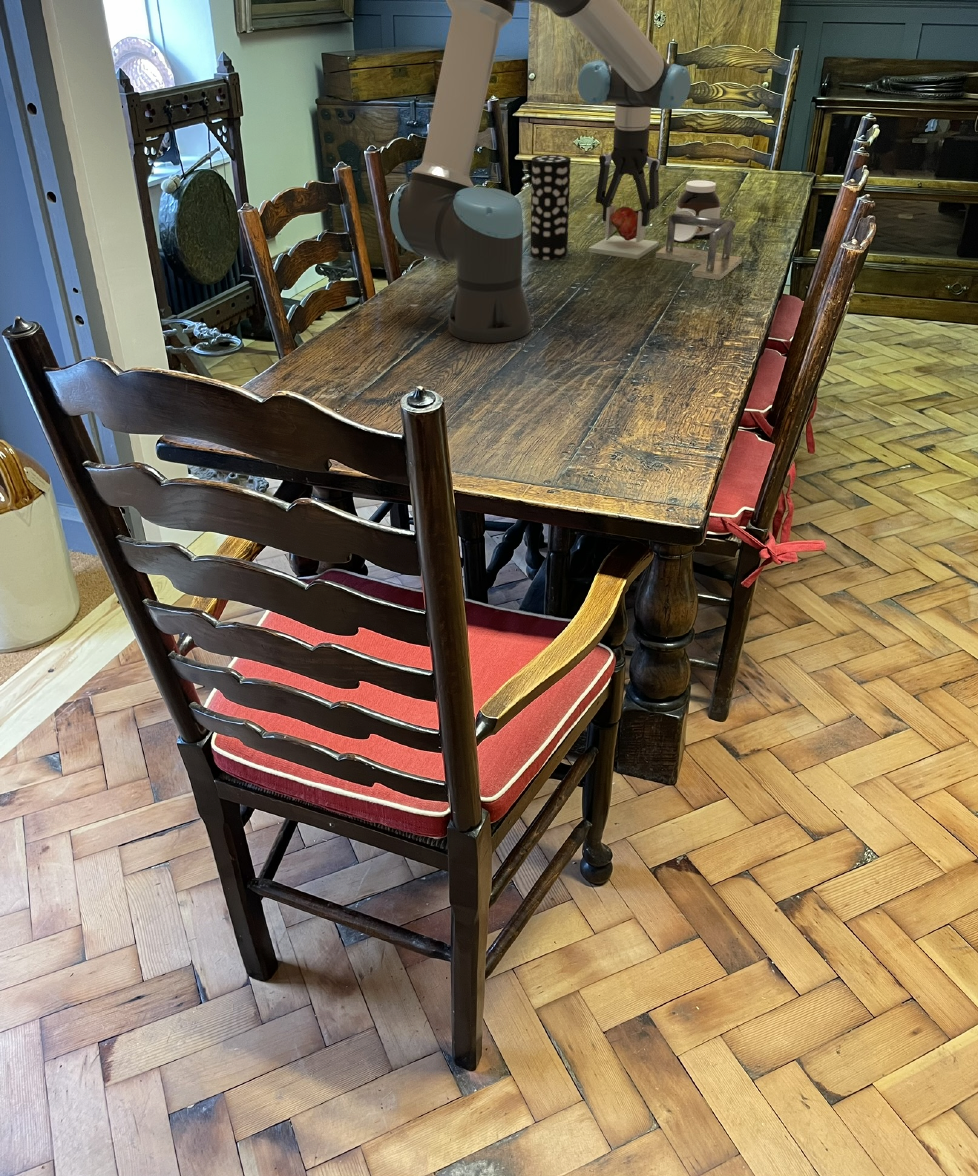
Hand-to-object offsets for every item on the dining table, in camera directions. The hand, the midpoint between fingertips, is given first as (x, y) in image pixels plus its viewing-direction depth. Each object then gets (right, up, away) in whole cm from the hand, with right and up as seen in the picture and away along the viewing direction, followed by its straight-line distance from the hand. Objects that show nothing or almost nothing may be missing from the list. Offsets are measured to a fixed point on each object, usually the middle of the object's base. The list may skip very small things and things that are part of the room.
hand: (624, 238), depth 212 cm
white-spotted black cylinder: (-17, -4, -1) cm, 18 cm away
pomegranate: (0, 0, 0) cm, 1 cm away
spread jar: (+17, +3, +9) cm, 20 cm away
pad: (0, -2, +1) cm, 2 cm away
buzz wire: (+13, -9, -9) cm, 19 cm away
